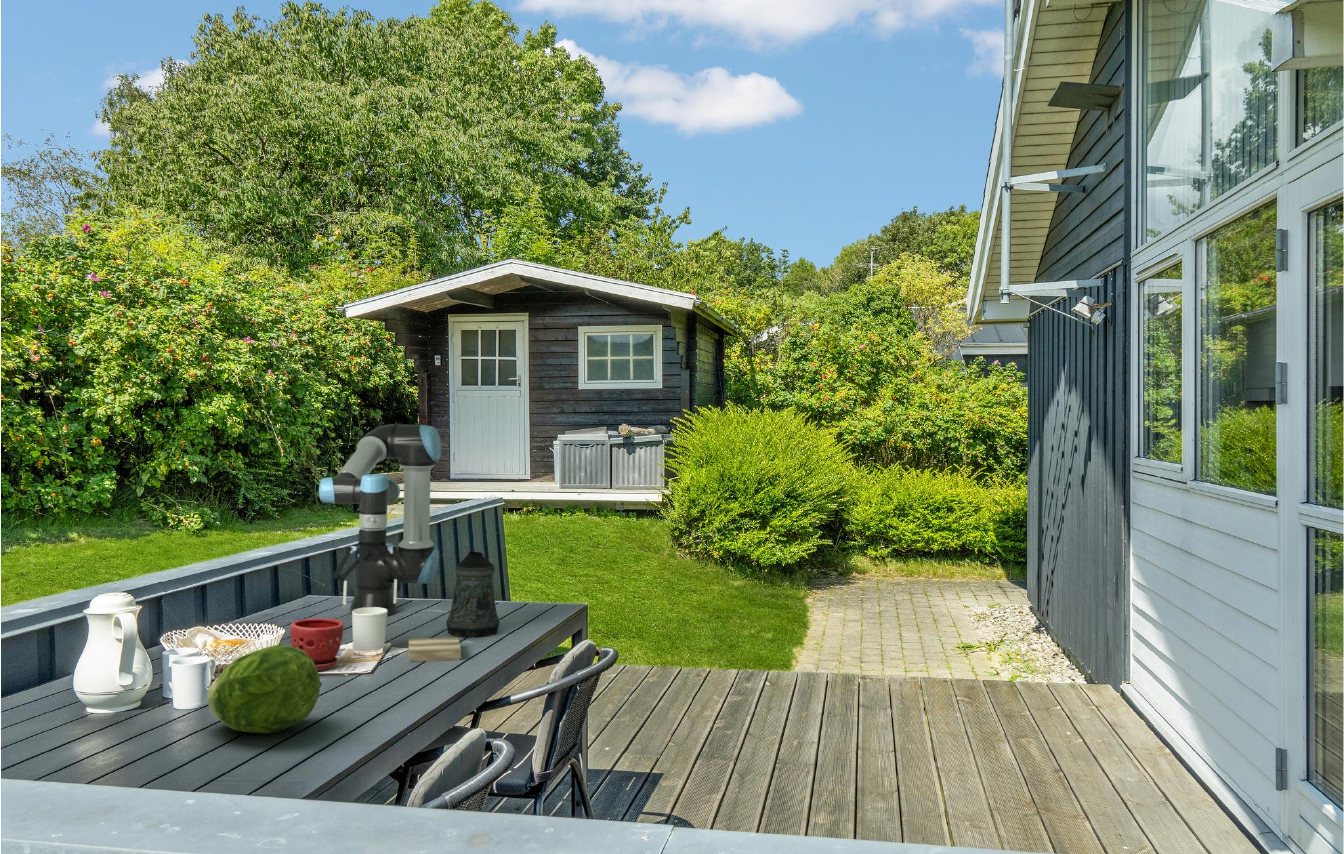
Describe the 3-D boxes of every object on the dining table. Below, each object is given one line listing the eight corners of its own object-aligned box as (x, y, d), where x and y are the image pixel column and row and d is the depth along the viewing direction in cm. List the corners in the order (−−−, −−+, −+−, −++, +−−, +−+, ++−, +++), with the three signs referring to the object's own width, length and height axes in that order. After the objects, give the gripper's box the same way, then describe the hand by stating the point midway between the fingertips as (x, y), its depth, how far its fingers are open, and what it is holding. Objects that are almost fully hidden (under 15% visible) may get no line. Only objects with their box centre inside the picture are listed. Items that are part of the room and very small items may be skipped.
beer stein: (469, 640, 278) (472, 559, 277) (429, 629, 289) (432, 551, 289) (510, 631, 291) (513, 553, 291) (469, 621, 303) (472, 546, 302)
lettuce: (250, 710, 209) (231, 636, 206) (343, 702, 205) (324, 627, 202) (196, 755, 191) (174, 675, 188) (296, 747, 187) (275, 666, 183)
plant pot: (323, 675, 237) (325, 629, 236) (278, 670, 239) (280, 625, 239) (351, 662, 249) (352, 619, 249) (308, 658, 252) (309, 615, 252)
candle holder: (391, 649, 265) (393, 608, 265) (377, 657, 255) (379, 615, 255) (359, 646, 266) (360, 606, 266) (344, 655, 256) (345, 613, 256)
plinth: (408, 649, 266) (408, 638, 266) (457, 647, 270) (457, 637, 270) (408, 661, 252) (409, 651, 252) (460, 659, 256) (460, 649, 256)
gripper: (325, 529, 253) (322, 606, 253) (418, 530, 260) (415, 604, 260) (327, 526, 260) (324, 601, 260) (417, 527, 267) (415, 599, 267)
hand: (369, 603), depth 260 cm, fingers open, 13 cm apart
